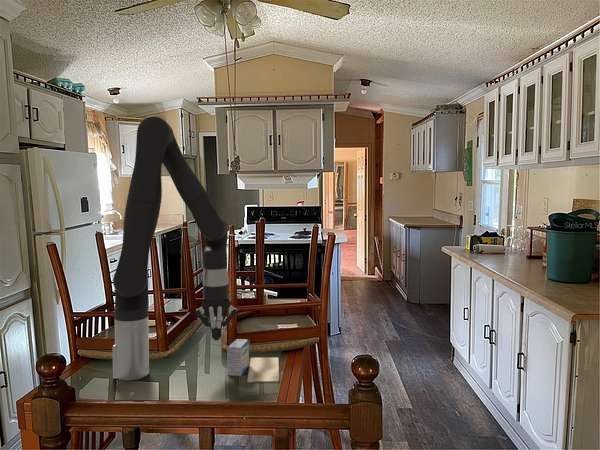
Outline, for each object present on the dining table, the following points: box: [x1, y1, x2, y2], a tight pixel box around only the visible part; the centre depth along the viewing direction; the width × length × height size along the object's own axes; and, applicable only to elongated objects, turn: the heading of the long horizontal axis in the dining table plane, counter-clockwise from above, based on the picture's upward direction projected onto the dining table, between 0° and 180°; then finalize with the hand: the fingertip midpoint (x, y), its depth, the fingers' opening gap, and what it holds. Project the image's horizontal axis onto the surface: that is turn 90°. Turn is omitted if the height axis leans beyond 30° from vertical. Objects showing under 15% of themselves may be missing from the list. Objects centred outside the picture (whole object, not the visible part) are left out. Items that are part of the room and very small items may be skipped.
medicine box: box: [226, 338, 250, 377], centre depth 133 cm, size 8×4×9 cm, turn 170°
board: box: [246, 357, 280, 384], centre depth 134 cm, size 9×18×1 cm, turn 4°
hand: (216, 339), depth 132 cm, fingers closed
